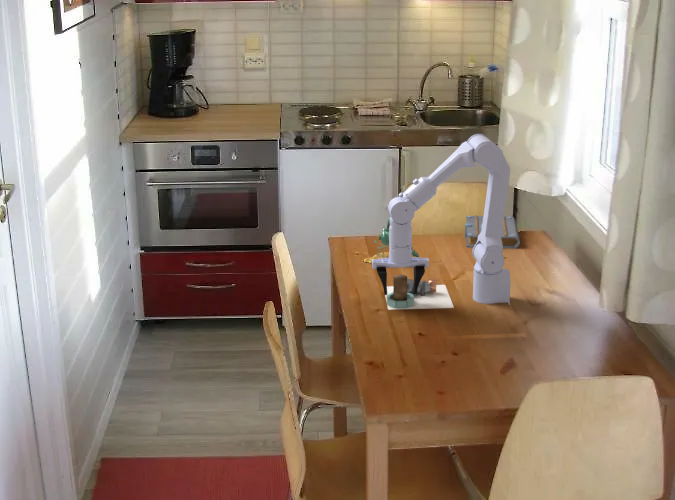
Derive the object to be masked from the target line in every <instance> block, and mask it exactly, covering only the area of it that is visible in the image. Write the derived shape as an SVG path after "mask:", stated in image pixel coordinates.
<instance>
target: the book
mask: <svg viewBox="0 0 675 500" xmlns="http://www.w3.org/2000/svg"><path fill="white" fill-rule="evenodd" d="M483 216H484V215H466V217H465V218H466V222H465V225H464V238H465V239H466V243H465V244H466V245H465V246H466V248H471V249H473V247H474V246H475V244H476V243H477V240H478V235H479V234H480V233H481V230H482V223H483ZM501 240H502V245H503V249H511V250H513V249H515V250H516V249H518V248H519V246H520V244H521V243H520V242H521V240H520V235H519V230H518V226H517V220H516V219H515V217H514V216H505V215H504V219H503V226H502V233H501Z"/></svg>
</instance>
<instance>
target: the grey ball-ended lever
mask: <svg viewBox="0 0 675 500" xmlns="http://www.w3.org/2000/svg"><path fill="white" fill-rule="evenodd" d="M424 281H425V292H436V285H437V279H436V278H429V279H428V280H427V281H426V280H424ZM413 283H414V279H410V278H407V293H411V294H414V292H413ZM417 292H421V281H420V283H419V286H418V289H417Z"/></svg>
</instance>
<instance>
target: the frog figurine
mask: <svg viewBox="0 0 675 500" xmlns="http://www.w3.org/2000/svg"><path fill="white" fill-rule="evenodd" d="M386 223H387V224H386V227H383V229H382V231H381V233H380V234H379V236H378V240H379V241H380V242H381V243H380V242H377V240H373V243H374V244H375V243H377V244H378V245H381V246H377V250H379V252H378V253H375V254H374V255H373V256H369V257H367V258H364V262H363V263H368V262H369V263H368V264H371V265H372V260H375V259H383V258H389V252H388V251H387V252H385V250H386V248H387V247H389V226H390V217H388V219H387V222H386ZM382 248H384V249H383V252H381V250H382ZM412 257H417V258H420V255H419V253H418V252H417V251H416V249H413V248H412Z"/></svg>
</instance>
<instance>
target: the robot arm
mask: <svg viewBox="0 0 675 500" xmlns="http://www.w3.org/2000/svg"><path fill="white" fill-rule="evenodd" d="M475 163H476V164H478V165H479V166H481V167H483V168H484V169H485V170H486V171H487V172H488V180H487V185H486V186H487V187H486V195H485V201H484V210H483V215H482V216H483V223H482V230H481V233H480V234H479V235H478V240H477V243H476V244H475V246H474V247H473V248H472V251H471V252H472V256H473V258H474V260H475V264H474V265H473V285H472V299H473V301H474V302H476V303H479V304H485V305H491V304H499V303H507V304H508V305H509V306H511V303H510V301H511V280H512V279H511V274H510V273H511V272H510V269H508V268H504V266H505V258H504V254H503V250H504V248H503V245H502V240H501V233H502V226H503V219H504V216H505V211H506V204H507V197H508V191H509V183H510V177H511V167H510V165H509V163H508V160H507V159H506V157H505V155H504V151H503V149H502V148H501V147H499V146H498V145H497V144H496V143H495V142H493V141H492V140H491V139H490V138H489V137H487V136H486V135H484V134H483V133H476V134H473V135H471V136H470V137H469V138H468V139H467V141H464V142H462V143H461V144H460V145H459V147H457V148H456V150H455V151H454V152H453V153H451V155H449V156H448V158H446V159H445V161H443V162H442V163H441V164H440V165H439V166H438V167H437V168H436V169H434V171H433V172H432V173H431V174H430V175H428V176H420V177H419V178H415V179H414V180H412V183H413V184H411V185H410V186H409V187H408V188H406V190H405V191H403V192H402V191H401V192H400V193H399V194H398V196H395V197H394V198H392V199H390V201H389V203H388V205H387V207H386V209H387V213H388V214H389V215H390V217H389V218H390V226H389V246H388V248H389V250H388V251H389V258H383V259H375V260H372V264H371V265H372V266H371V267H372V270H376V273H377V275H378V277H379V279H380V282H381V284H382V287H383V294H384V296H385V295H387V286H388V284H387V283H388V280H387V279H388V273H387V269H388V268H392V269H395V268H413V280H414V283H413V292H414V294H417V289H418V286H419V283H420V282H421V281H422V279H423V277H424V275H425V273H426V269H425V268H430V260H429V258H428V257H419V258H418V257H415V256H414V257H412V249H413V245H412V241H413V239H412V237H413V236H412V232H413V227H412V221H413V220H414V218H415V214H416V213H415V212H417V211H418V210H419V209H421V208H422V207H423V206H424V205H425V204H426V203H428V202H429V201H430V200H431V199H432V198H433V197H435V196H436V194H437V190H438V189H437V188H438V187H439V186H440V185H441V184H443V183H445V181H446V180H448V179H449V178H450V177H452V176H453V175H454V174H455V173H457V172H458V171H459V170H460V169H462V168H475V167H476V164H475Z"/></svg>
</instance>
